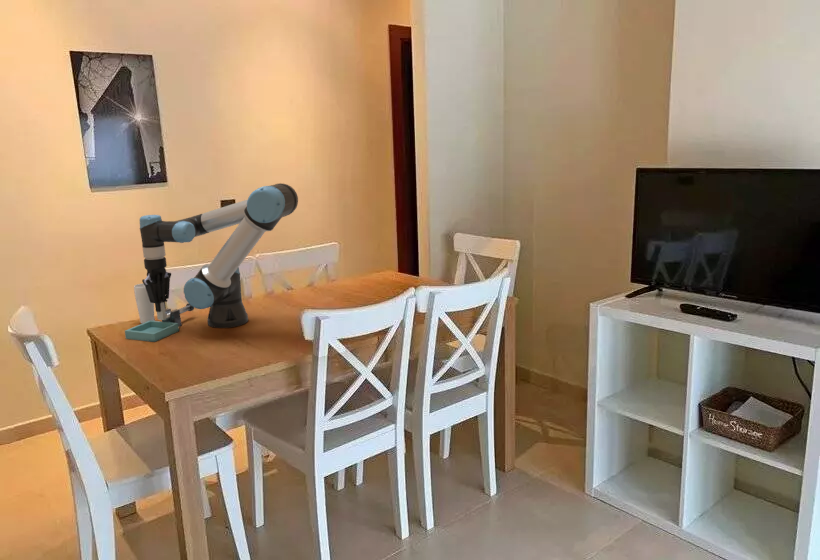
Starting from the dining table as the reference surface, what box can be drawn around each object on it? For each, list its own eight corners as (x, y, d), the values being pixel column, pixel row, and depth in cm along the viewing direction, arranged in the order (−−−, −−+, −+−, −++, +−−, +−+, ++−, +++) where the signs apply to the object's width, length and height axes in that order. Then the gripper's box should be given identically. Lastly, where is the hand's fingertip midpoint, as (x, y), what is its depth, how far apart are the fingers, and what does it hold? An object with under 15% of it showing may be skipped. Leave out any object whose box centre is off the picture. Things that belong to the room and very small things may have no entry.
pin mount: (181, 325, 246) (179, 309, 244) (175, 328, 242) (173, 312, 241) (168, 324, 248) (167, 308, 246) (162, 326, 244) (160, 310, 243)
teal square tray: (179, 331, 239) (178, 323, 239) (154, 342, 227) (153, 334, 227) (151, 327, 244) (150, 320, 243) (125, 338, 232) (124, 330, 231)
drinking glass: (150, 325, 247) (145, 287, 243) (134, 324, 248) (129, 287, 245) (160, 320, 253) (156, 283, 250) (145, 319, 255) (140, 282, 251)
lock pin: (194, 311, 254) (193, 303, 254) (167, 322, 240) (166, 314, 239) (187, 310, 256) (187, 302, 255) (160, 321, 241) (159, 313, 240)
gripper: (158, 253, 241) (165, 313, 247) (133, 260, 229) (141, 323, 235) (175, 254, 238) (181, 315, 244) (150, 261, 227) (157, 325, 232)
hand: (161, 319), depth 239 cm, fingers closed
